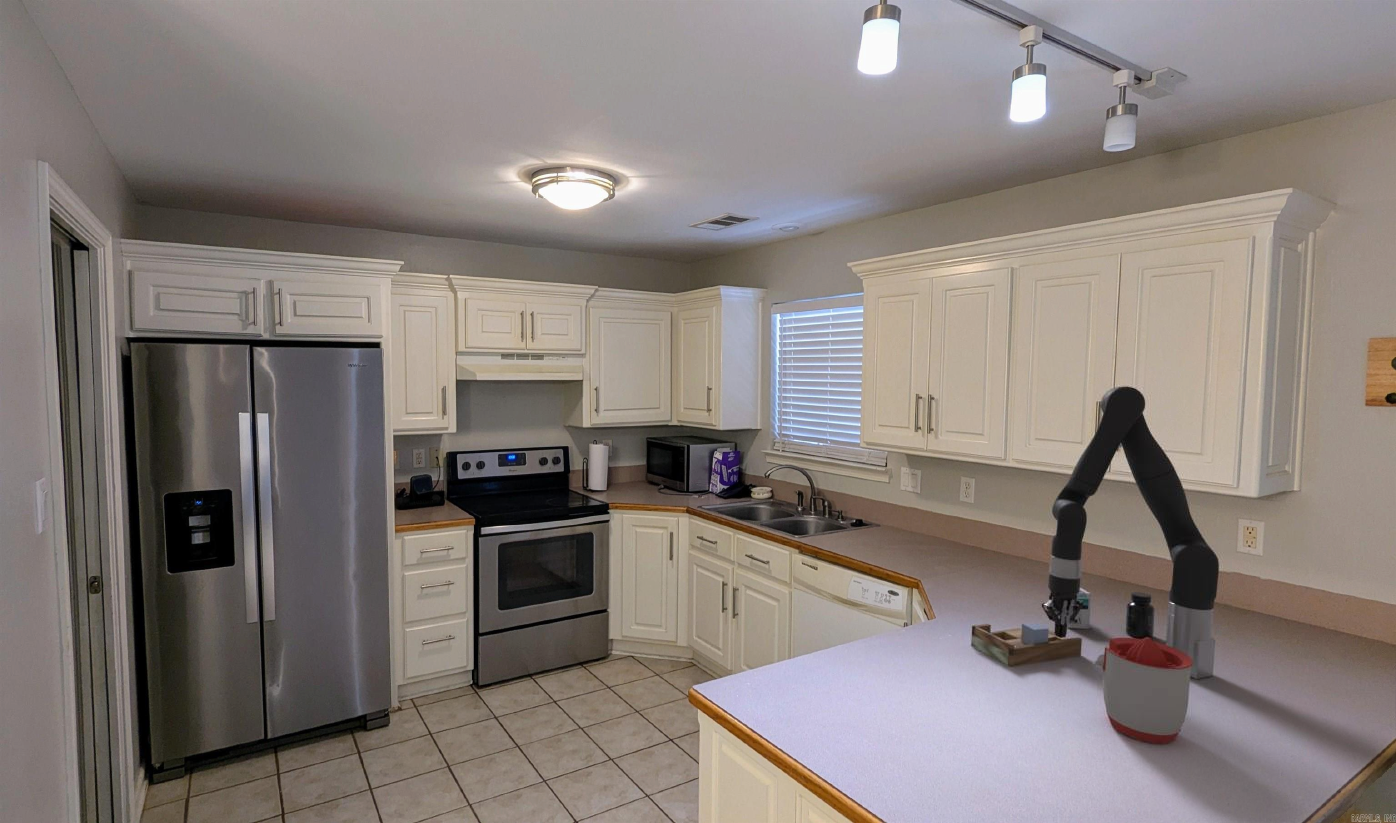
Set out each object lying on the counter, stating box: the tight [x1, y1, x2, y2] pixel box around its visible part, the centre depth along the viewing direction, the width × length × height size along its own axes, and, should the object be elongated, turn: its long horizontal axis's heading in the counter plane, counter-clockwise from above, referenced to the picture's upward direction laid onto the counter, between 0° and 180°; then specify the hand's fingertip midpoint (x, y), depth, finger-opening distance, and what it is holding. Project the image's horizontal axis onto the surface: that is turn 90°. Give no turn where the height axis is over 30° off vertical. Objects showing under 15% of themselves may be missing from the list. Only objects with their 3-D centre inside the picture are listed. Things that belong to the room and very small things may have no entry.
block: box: [1021, 622, 1050, 645], centre depth 184 cm, size 4×4×5 cm
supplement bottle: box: [1125, 591, 1156, 639], centre depth 200 cm, size 7×7×12 cm
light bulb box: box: [1067, 587, 1092, 629], centre depth 209 cm, size 11×7×11 cm, turn 179°
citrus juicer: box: [1092, 637, 1193, 745], centre depth 146 cm, size 16×17×20 cm
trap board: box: [970, 623, 1083, 667], centre depth 187 cm, size 14×24×6 cm, turn 111°
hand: (1060, 636), depth 188 cm, fingers closed
